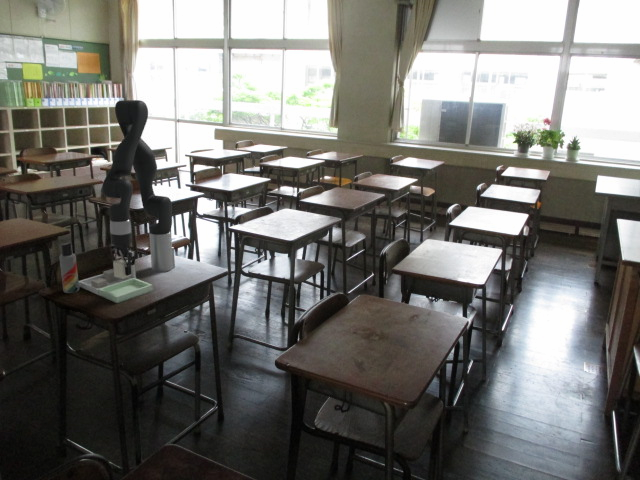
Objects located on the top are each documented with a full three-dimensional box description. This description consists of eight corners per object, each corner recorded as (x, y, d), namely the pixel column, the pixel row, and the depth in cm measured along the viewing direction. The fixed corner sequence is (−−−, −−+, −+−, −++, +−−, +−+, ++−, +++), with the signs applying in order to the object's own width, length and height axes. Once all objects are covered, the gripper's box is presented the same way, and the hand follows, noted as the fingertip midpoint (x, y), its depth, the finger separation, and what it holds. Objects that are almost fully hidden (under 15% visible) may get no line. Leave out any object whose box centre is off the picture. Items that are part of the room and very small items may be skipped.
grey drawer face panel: (117, 275, 220) (115, 253, 217) (137, 283, 213) (135, 260, 210) (114, 276, 219) (112, 253, 216) (134, 284, 212) (132, 261, 209)
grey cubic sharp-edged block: (112, 277, 216) (111, 268, 215) (118, 280, 214) (117, 271, 213) (104, 280, 213) (103, 271, 212) (110, 282, 211) (109, 273, 209)
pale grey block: (100, 287, 206) (100, 277, 205) (107, 289, 204) (106, 280, 203) (92, 290, 203) (91, 280, 202) (98, 292, 201) (97, 283, 200)
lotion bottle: (75, 294, 200) (69, 245, 194) (60, 293, 200) (54, 245, 194) (82, 288, 205) (76, 241, 199) (68, 288, 205) (62, 240, 199)
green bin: (134, 284, 211) (134, 277, 210) (153, 291, 205) (152, 284, 204) (99, 296, 199) (98, 289, 198) (117, 304, 192) (116, 297, 191)
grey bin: (113, 276, 219) (113, 270, 218) (133, 284, 211) (133, 278, 211) (78, 287, 207) (77, 281, 206) (98, 296, 199) (97, 290, 198)
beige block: (123, 273, 201) (121, 258, 200) (131, 275, 199) (130, 260, 198) (114, 276, 197) (113, 262, 196) (122, 278, 196) (121, 264, 194)
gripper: (141, 232, 193) (143, 275, 198) (118, 226, 201) (121, 266, 206) (123, 236, 187) (126, 280, 192) (101, 229, 195) (104, 271, 200)
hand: (124, 273), depth 199 cm, fingers closed on beige block, 4 cm apart
